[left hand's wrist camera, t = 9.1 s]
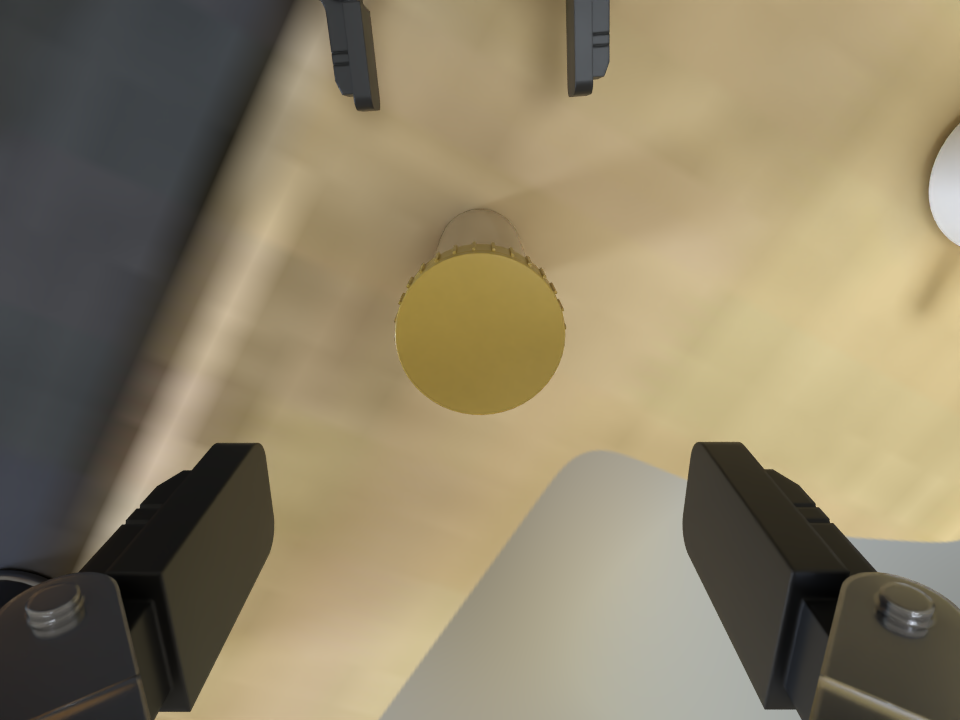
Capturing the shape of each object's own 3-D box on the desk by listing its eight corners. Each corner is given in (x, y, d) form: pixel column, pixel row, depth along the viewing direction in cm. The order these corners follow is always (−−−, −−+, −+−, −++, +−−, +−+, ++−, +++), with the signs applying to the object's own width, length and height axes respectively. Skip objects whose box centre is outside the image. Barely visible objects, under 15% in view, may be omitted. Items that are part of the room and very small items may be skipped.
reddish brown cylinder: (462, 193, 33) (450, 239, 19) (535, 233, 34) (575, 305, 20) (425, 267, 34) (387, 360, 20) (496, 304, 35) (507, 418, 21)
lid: (444, 210, 20) (441, 217, 18) (591, 290, 21) (600, 303, 19) (372, 353, 21) (363, 371, 20) (511, 421, 22) (513, 443, 21)
